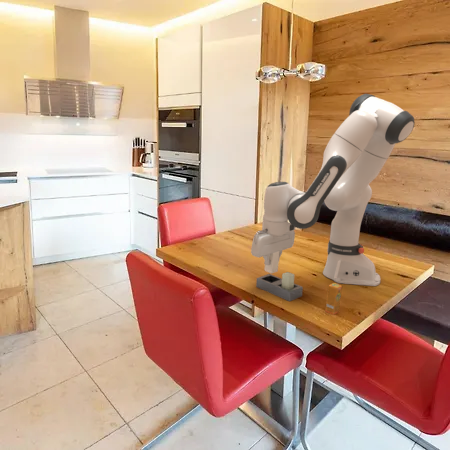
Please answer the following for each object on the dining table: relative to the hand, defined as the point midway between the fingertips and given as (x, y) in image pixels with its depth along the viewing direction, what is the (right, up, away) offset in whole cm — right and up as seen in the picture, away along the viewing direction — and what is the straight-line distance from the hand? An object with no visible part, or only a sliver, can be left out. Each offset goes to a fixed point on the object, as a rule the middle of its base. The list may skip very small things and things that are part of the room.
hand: (271, 263), depth 139 cm
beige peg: (+5, -11, -3) cm, 13 cm away
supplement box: (+18, -15, -15) cm, 28 cm away
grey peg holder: (+2, -11, 0) cm, 11 cm away
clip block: (0, -3, +1) cm, 3 cm away
